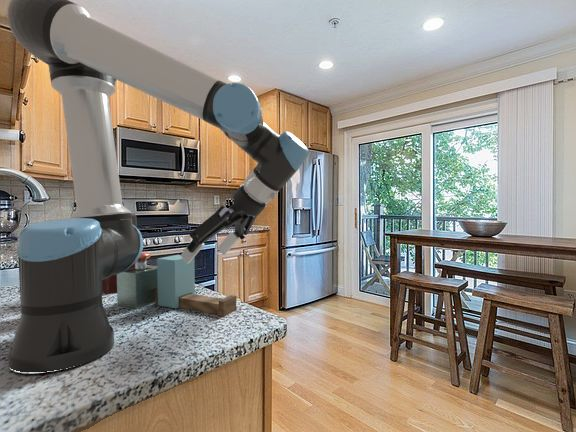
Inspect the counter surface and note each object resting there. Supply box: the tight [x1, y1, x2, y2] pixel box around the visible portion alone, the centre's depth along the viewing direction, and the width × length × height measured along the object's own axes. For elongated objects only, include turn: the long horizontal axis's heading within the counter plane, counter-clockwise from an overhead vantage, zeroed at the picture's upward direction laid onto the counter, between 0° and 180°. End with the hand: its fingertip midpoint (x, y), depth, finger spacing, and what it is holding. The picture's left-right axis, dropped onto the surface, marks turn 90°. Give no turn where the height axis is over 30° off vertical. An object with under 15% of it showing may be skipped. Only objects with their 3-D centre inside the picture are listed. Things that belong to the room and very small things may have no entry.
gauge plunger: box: [135, 252, 151, 271], centre depth 84 cm, size 5×5×6 cm
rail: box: [154, 290, 237, 317], centre depth 80 cm, size 22×5×4 cm, turn 65°
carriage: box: [156, 254, 196, 309], centre depth 83 cm, size 6×7×12 cm
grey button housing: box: [116, 264, 158, 310], centre depth 84 cm, size 7×9×9 cm
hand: (204, 255), depth 79 cm, fingers open, 13 cm apart
